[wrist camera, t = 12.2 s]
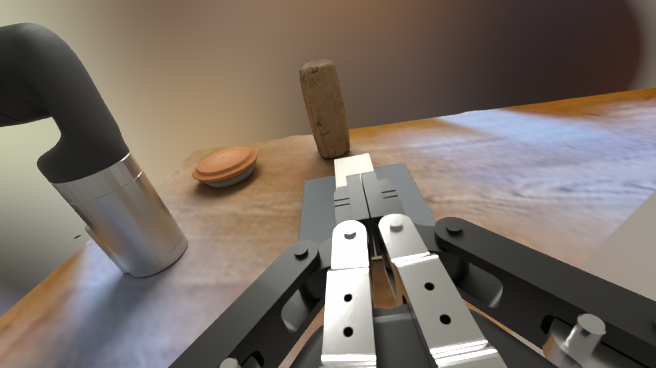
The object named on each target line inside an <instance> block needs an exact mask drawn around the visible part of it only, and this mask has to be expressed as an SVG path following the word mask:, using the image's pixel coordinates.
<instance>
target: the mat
mask: <svg viewBox="0 0 656 368" xmlns="http://www.w3.org/2000/svg"><path fill="white" fill-rule="evenodd" d="M373 169H374V171H375V173H376V177H377V180H381V179H388V180H389V181H391V182H392V183H393V185H394V187H395V190H396V192H397V195H398V197H399V199H400V202H401V204H402V207H403V209H404V212H405V214H406V216H407V217H409V218H410V219H411V221H412V222H414V223H416V224H419V225H425V226H435V224H436V221H435V219H434V217H433V215H432V214H431V212H430V210H429V208H428V206H427V204H426V202H425V201H424V199H423V197H422V195H421V193H420V191H419V189H418V187H417V186H416V184H415V182H414V180H413V178H412V176H411V174H410V172H409V171H408V169H407V167H406V165H405V163H400V164H394V165H389V166H383V167H378V168H373ZM335 191H336V178H335V175H334V176H328V177H323V178H317V179H312V180H306V181H305V186H304V195H303V204H302V213H301V222H300V231H299V240H298V241H300V240H311V241H313V242H314V243H316V245H317V244H319V243H322V242H324V241H326V240H328V239H329V238H330V237H331V236H332V235H333V232H334V230H335V228H336V219H335V204H334V192H335Z"/></svg>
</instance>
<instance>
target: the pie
mask: <svg viewBox="0 0 656 368" xmlns="http://www.w3.org/2000/svg"><path fill="white" fill-rule="evenodd" d="M257 156H258V151H257V150H256V149H254V148H250V147H232V148H228V149H224V150H221V151H218V152H216V153H214V154H212V155H210V156H208V157H207V158H205V159H204V160H202V161H201V162H200V163H199V165H198V166H197V167H196V168H195V169H194V170H193V173H192V176H193V178H195V179H197V180H198V181H201V182H204V183H206V184H207V185H209V186H211V187H215V188H221V187H227V186H231V185H234V184H236V183H239V182H240V181H242V180H244V179H246V178H247V177H248V176H250V175H251V174H252V172H253V170H254V168H255V164H256V160H257Z"/></svg>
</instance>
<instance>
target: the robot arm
mask: <svg viewBox="0 0 656 368" xmlns="http://www.w3.org/2000/svg"><path fill="white" fill-rule="evenodd" d="M49 117H53V119H54V120H55V122H56V124H57V125H58V127H59V130H60V132H61V138H60V140H59V142H58V143H57V144H56V145H55V146H54V147H53V148H52V149H51V150H49V151H47V152H46V153H45V154H43V155H42V156H41V157H40V158H39V159H38V161H37V166H38V168H39V170H40V171H41V173H42V174H43V175H44V176H45V177H46V178H47V180H48V181H49V182H50V183H51V184H52V185H53V186H54V187H55V189H56V190H57V191H58V192H59V193H60V194H61V196H62V197H63V198H64V199H65V200H66V201H67V202H68V203H69V204H70V206H71V207H72V208H73V209H74V210H75V211H76V213H77V214H78V215H79V216H80V217H81V218H82V219H83V221H84V222H85V223H86V224H87V225H86V226H85V230H86V232H87V233H88V234H89V235H90V236H91V238H92V239H93V240H94V241H95V242H96V243H97V244H98V245H99V247H100V248H101V249H102V250H103V251H104V252H105V253H106V254H107V255H108V257H109V258H110V259H111V260H112V261H113V262H114V263H115V264H116V266H117V267H118V268H119V269H120V270H121V271H122V272H123V273H130V274H131V275H132V276H134V277H146V276H150V275H153V274H155V273H158V272H160V271H162V270H163V269H165V268H167V267H168V266H170V265H171V264H172V263H174V262H175V261H176V260H177V259H178V258H179V257H180V256H181V255H182V254H183V252H184V251H185V249H186V247H187V243H188V242H187V239H186V237H185V235H184V234H183V232H182V231H181V229H180V228H179V226H178V225H177V223H176V221H175V220H174V218H173V217H172V215H171V213H170V212H169V210H168V209H167V207H166V206H165V204H164V203H163V201H162V199H161V198H160V196H159V195H158V193H157V192H156V190H155V189H154V187H153V185H152V184H151V183H150V181H149V179H148V178H147V176H146V175H145V173H144V172H143V170H142V169H141V167H140V165H139V164H138V162H137V161H136V159H135V158H134V156H133V155H132V153H131V152H130V150H129V148H128V147H127V145H126V144H125V142H124V140H123V137H122V135H121V132H120V130H119V127H118V125H117V123H116V122H115V120H114V118H113V116H112V115H111V113H110V111H109V110H108V108H107V106H106V104H105V103H104V101H103V99H102V97H101V95H100V94H99V92H98V90H97V88H96V86H95V85H94V83H93V81H92V79H91V77H90V76H89V74H88V72H87V71H86V69H85V67H84V66H83V64H82V63H81V61H80V60H79V58H78V57H77V55H76V54H75V53H74V52H73V50H72V49H71V48H70V47H69V46H68V45H67V44H66V43H65V42H64V41H63V40H62V39H61V38H60V37H59V36H58V35H56V34H55V33H54V32H52V31H51V30H49V29H47V28H45V27H43V26H40V25H38V24H33V23H20V24H13V25H9V26H4V27H0V127H4V126H12V125H19V124H24V123H29V122H34V121H37V120H41V119H45V118H49ZM361 180H362V182H361ZM346 181H347V186H341V187H337V189H336V191H335V192H334V204H335V219H336V228H335V230H334V232H333V235H332V236H331V237H330V238H329V239H328V240H326V241H324V242H322V243H319V244H317V245H316V243H314V242H313V241H311V240H300V241H297V242H295V243H293V244H292V245H290V246H289V247H288V248H287V249H286V250H285V251H284V252H283V253H282V254H281V255H280V256H279V257H278V258H277V259H276V260H275V261H274V262H273V263H272V264H271V265H270V266H269V267H268V268H267V269H266V270H265V271H264V272H263V273H262V274H261V275H260V276H259V277H258V278H257V279H256V280H255V281H254V282H253V283H252V284H251V285H250V286H249V287H248V288H247V289H246V290H245V291H244V292H243V293H242V294H241V295H240V296H239V297H238V298H237V299H236V300H235V301H234V302H233V303H232V304H231V305H230V306H229V307H228V308H227V309H226V310H225V311H224V312H223V313H222V314H221V315H220V316H219V317H218V318H217V319H216V320H215V321H214V322H213V323H212V324H211V325H210V326H209V327H208V328H207V329H206V330H205V331H204V332H203V333H202V334H201V335H200V336H199V337H198V338H197V339H196V340H195V341H194V342H193V343H192V344H191V345H190V346H189V347H188V348H187V349H186V350H185V351H184V352H183V353H182V354H181V355H180V356H179V357H178V358H177V359H176V360H175V361H174V362H173V363H172V364H171V365H170V366H169V367H168V368H278V367H279V365H280V364H281V363H282V361H283V360H284V359H285V357H286V356H287V355H288V353H289V352H290V350H291V349H292V348H293V346H294V345H295V344H296V342H297V341H298V340H299V338H300V337H301V336H302V334H303V333H304V332H305V330H306V329H307V328H308V326H309V325H310V324H311V322H312V321H313V319H314V318H315V317H316V315H317V314H318V313H319V311H320V310H321V309H322V307H323V306H324V305H325V317H324V325H323V326H321V327H320V328H319V329H318V330H316V331H315V332H314V333H313V335H312V336H311V337H310V338H309V339H308V341H307V342H306V344H305V345H304V347H303V348H302V350H301V351H300V353H299V354H298V356H297V357H296V359H295V360H294V361H293V363H292V364H291V366H290V367H289V368H656V301H653V300H651V299H649V298H646V297H644V296H642V295H639V294H637V293H635V292H632V291H630V290H628V289H625V288H623V287H621V286H618V285H616V284H613V283H611V282H609V281H606V280H604V279H602V278H599V277H597V276H594V275H592V274H590V273H587V272H585V271H582V270H580V269H578V268H576V267H574V266H571V265H569V264H567V263H564V262H562V261H559V260H557V259H555V258H552V257H550V256H548V255H545V254H543V253H541V252H538V251H536V250H534V249H531V248H529V247H527V246H524V245H522V244H520V243H517V242H515V241H513V240H510V239H508V238H505V237H503V236H501V235H498V234H496V233H494V232H491V231H489V230H487V229H484V228H482V227H480V226H477V225H475V224H473V223H470V222H468V221H466V220H463V219H460V218H456V217H447V218H443V219H440V220H439V221H437V222H436V224H435V226H425V225H419V224H416V223H414V222H412V221H411V219H410V218H409V217H407V216H406V214H405V212H404V209H403V207H402V204H401V202H400V199H399V197H398V195H397V192H396V190H395V187H394V185H393V183H392V182H391V181H389V180H388V179H381V180H377V177H376V173H375V171H371V172H365V173H361V178H360V174H354V175H349V176H346ZM362 186H363V187H362ZM373 241H374V244H373ZM374 246H375V250H376V255H377V256H382V259H383V264H384V271H385V274H386V277H387V280H388V283H389V286H390V289H391V292H392V295H393V298H394V301H395V304H396V308H393V309H380V308H376V300H375V290H374V280H373V271H372V269H373V262H372V257H375V251H374ZM470 263H471V264H470ZM483 270H484V271H483ZM485 271H486V272H485ZM463 299H464V300H465V301H467V302H468V303H470V304H472V305H473V306H475V307H476V308H478V309H479V310H481V311H483V312H484V313H486V314H487V315H489V316H490V317H492V318H493V319H495V320H497V321H498V322H500V323H501V324H503V325H504V326H506V327H508V328H509V329H511V330H512V331H514V332H515V333H517V334H519V335H520V336H522V337H523V338H525V339H526V340H528V341H529V342H531V343H533V344H534V345H536V346H537V347H539V348H540V349H542V350H543V352H544V355H545V357H546V358H544V357H543V356H541V355H540V354H538V353H537V352H536V351H534V350H533V349H531V348H530V347H528V346H527V345H525V344H524V343H522V342H521V341H520V340H518V339H517V338H515V337H514V336H512V335H511V334H509V333H508V332H506V331H505V330H504V329H502V328H501V327H499V326H498V325H496V324H495V323H493V322H492V321H490V320H489V319H488V318H486V317H484V316H483V315H481V314H479V313H477V312H475V311H473V310H471V309H469V308H467V306H466V304H465V303H464V301H463Z"/></svg>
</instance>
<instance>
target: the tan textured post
mask: <svg viewBox="0 0 656 368" xmlns="http://www.w3.org/2000/svg"><path fill="white" fill-rule="evenodd" d="M299 74H300V82H301V88H302V93H303V97H304V101H305V105H306V110H307V114H308V117H309V121H310V125H311V128H312V132H313V136H314V139H315V142H316V145H317V148H318V151H319V153H320V155H321V156H322V157H324V158H331V157H332V158H333V157H337V156H341V155H343V154H344V153H345V152H346V151H348V150H349V149H350V142H349V132H348V126H347V120H346V114H345V109H344V103H343V100H342V94H341V90H340V85H339V80H338V76H337V72H336V68H335V64H334V62H332V61H330V60H329V59H320V60H315V61H312V62H309V63H306V64H303V65H301V67H300V70H299Z"/></svg>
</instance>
